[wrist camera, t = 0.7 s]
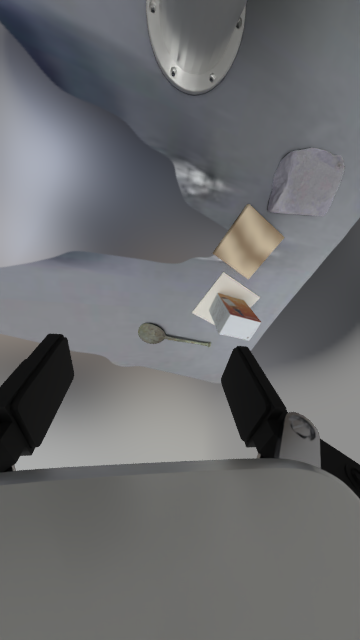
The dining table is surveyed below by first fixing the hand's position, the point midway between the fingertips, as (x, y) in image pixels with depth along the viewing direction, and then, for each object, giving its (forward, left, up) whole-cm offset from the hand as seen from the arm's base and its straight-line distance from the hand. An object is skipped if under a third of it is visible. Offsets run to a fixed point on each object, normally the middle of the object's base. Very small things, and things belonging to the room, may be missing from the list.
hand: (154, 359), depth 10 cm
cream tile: (+4, +23, -33) cm, 41 cm away
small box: (+4, +23, -33) cm, 41 cm away
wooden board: (-10, +17, -33) cm, 39 cm away
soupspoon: (+20, +17, -34) cm, 43 cm away
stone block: (-24, +18, -34) cm, 45 cm away
